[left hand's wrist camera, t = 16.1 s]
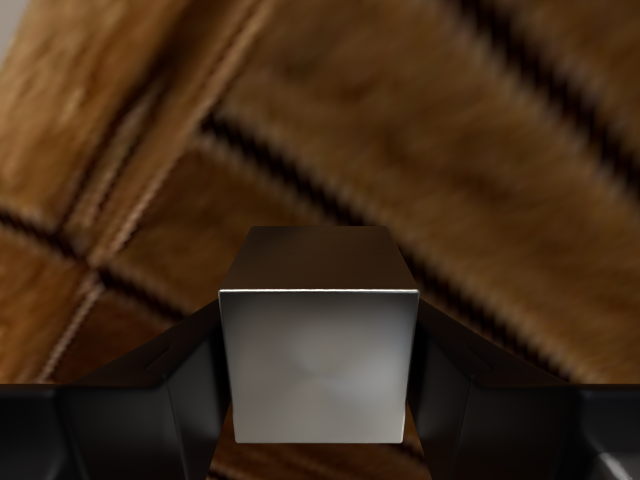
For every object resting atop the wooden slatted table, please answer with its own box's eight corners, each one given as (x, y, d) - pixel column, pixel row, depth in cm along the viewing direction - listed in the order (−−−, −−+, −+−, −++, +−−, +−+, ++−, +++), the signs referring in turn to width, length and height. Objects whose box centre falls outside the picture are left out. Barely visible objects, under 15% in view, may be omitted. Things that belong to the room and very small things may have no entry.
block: (387, 225, 12) (421, 290, 8) (378, 343, 13) (403, 444, 9) (250, 225, 12) (216, 290, 8) (259, 343, 13) (234, 444, 9)
